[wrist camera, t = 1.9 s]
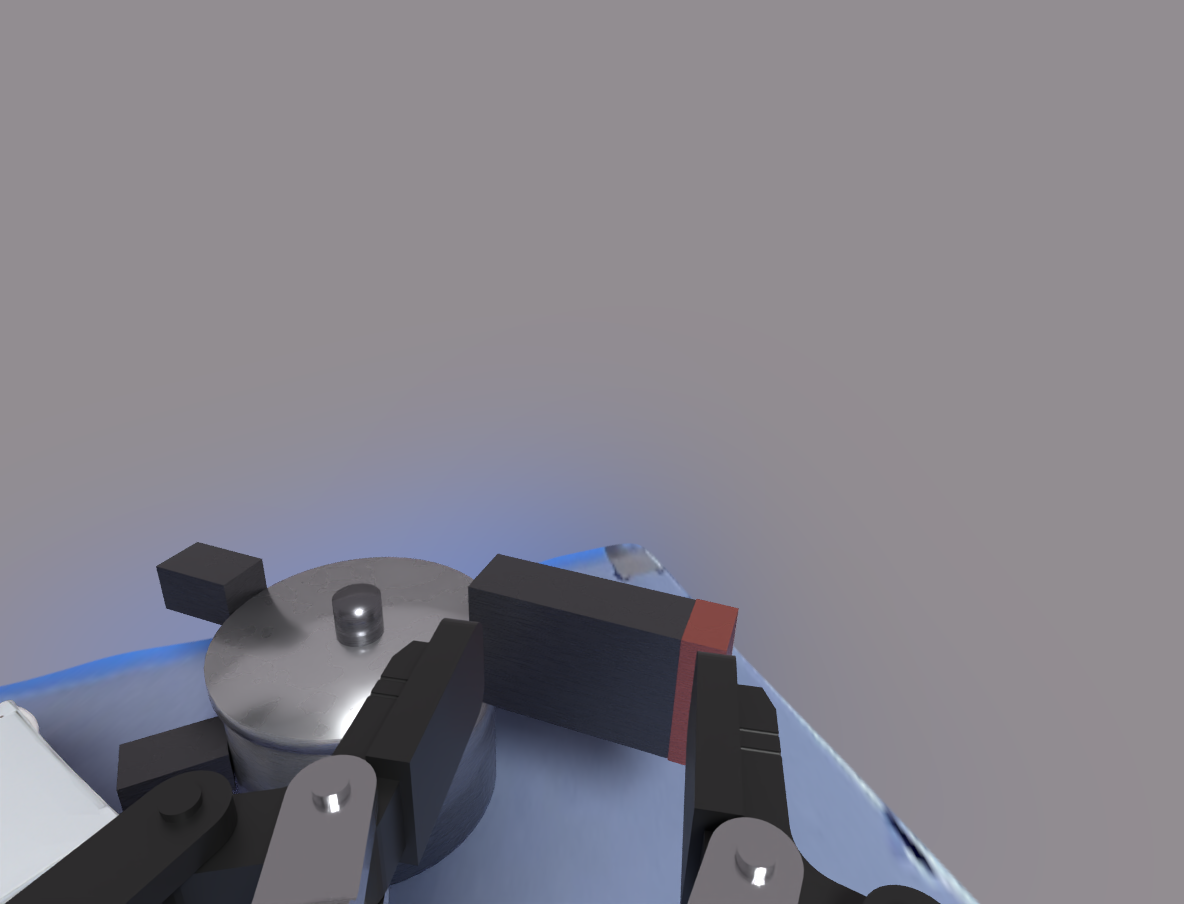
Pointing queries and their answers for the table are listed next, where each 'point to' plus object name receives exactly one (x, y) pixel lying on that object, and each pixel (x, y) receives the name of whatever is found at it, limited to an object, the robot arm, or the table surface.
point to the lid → (413, 612)
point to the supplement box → (39, 805)
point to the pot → (273, 769)
